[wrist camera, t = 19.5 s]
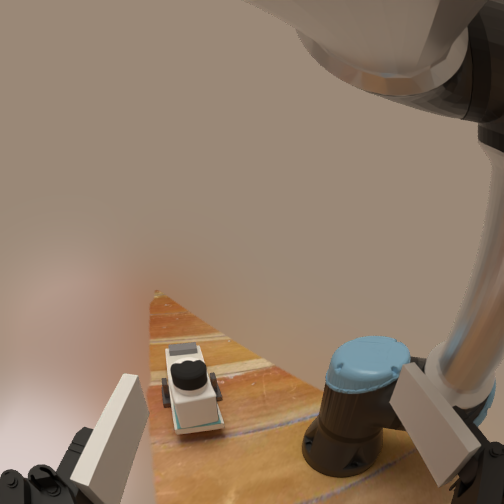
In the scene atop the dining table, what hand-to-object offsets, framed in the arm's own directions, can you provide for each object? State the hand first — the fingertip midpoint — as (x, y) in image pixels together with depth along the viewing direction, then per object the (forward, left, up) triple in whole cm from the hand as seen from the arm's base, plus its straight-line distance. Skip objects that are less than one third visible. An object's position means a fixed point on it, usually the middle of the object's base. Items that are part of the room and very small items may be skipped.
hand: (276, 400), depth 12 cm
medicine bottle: (-12, -27, -30) cm, 42 cm away
